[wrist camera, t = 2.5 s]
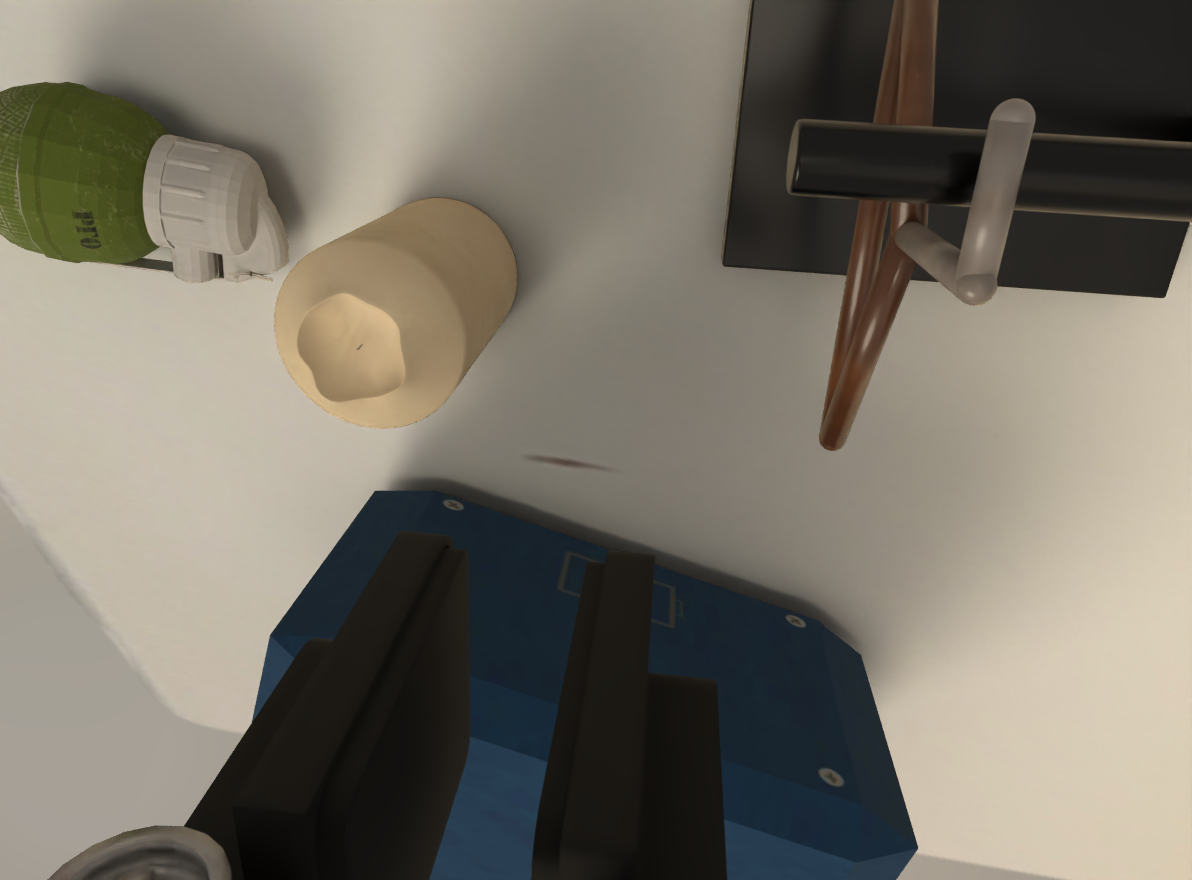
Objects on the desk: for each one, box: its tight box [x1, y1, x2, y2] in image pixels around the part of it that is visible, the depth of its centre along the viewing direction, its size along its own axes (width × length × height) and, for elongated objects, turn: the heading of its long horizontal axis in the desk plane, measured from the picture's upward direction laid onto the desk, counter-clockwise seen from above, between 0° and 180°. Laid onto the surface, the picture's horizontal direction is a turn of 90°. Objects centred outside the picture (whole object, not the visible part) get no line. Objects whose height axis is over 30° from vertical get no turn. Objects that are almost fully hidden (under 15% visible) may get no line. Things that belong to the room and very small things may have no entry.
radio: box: [252, 491, 918, 880], centre depth 28 cm, size 21×9×20 cm, turn 71°
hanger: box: [819, 0, 1035, 451], centre depth 17 cm, size 13×1×9 cm, turn 177°
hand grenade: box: [0, 82, 289, 283], centre depth 29 cm, size 6×6×10 cm
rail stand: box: [721, 0, 1192, 298], centre depth 21 cm, size 10×15×17 cm
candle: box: [274, 198, 517, 429], centre depth 27 cm, size 6×6×10 cm
